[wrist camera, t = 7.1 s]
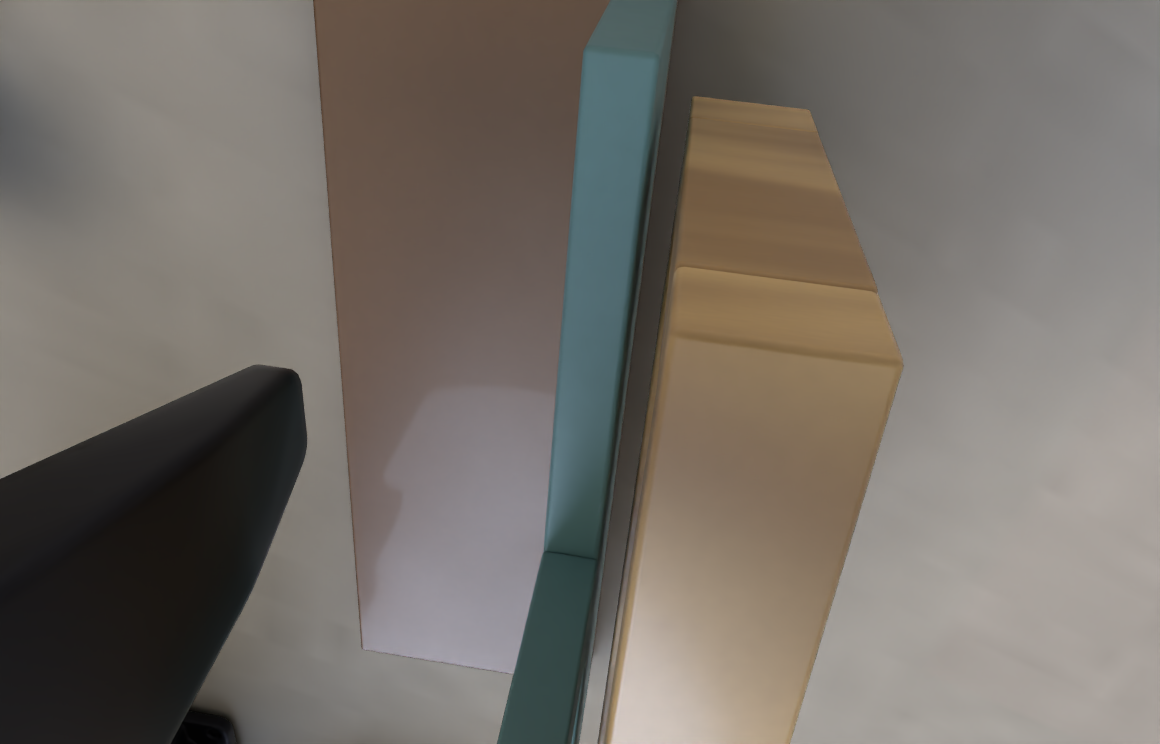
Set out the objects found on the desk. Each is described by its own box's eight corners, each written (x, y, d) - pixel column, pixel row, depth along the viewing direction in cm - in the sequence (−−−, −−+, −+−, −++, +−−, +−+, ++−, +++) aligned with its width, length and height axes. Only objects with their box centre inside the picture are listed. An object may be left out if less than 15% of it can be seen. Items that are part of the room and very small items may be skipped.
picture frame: (676, 795, 24) (657, 1236, 16) (592, 780, 24) (534, 1211, 17) (825, 111, 15) (938, 365, 8) (692, 94, 16) (668, 328, 8)
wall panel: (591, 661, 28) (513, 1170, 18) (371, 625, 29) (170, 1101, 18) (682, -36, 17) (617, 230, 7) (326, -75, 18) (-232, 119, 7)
